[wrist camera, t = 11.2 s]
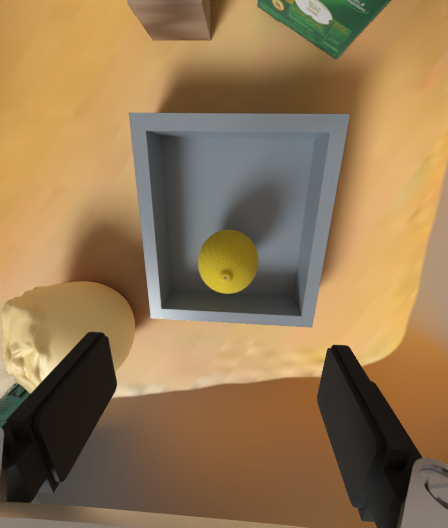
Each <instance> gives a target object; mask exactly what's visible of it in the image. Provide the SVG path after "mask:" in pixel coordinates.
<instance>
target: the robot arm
mask: <svg viewBox="0 0 448 528" xmlns="http://www.w3.org/2000/svg"><path fill="white" fill-rule="evenodd" d="M116 386H117V381H116V375H115V370H114V365H113V359H112V354H111V349H110V343H109V338H108V337H107V336H105V334H104V333H103V332H88V333H87V334H86V335H85V336H84V337H83V338H82V339H81V340H80V341H79V342H78V343H77V344H76V346H75V347H74V348H73V349H72V350H71V351H70V352H69V353H68V354H67V355H66V356H65V357H64V358H63V359H62V361H61V362H60V363H59V364H58V365H57V366H56V367H55V368H54V369H53V370H52V371H51V372H50V373H49V374H48V376H47V377H46V378H45V379H44V380H43V381H42V382H41V383H40V384H39V385H38V386H37V387H36V388H35V389H34V391H33V392H32V393H31V394H30V395H29V396H28V397H27V398H26V399H25V400H24V401H23V402H22V403H21V404H20V406H19V407H18V408H17V409H16V410H15V411H14V412H13V413H12V414H11V415H10V416H9V417H8V418H7V419H6V420H7V421H6V423H5V424H4V425H3V426H2V427H0V528H307V527H296V526H286V525H276V524H266V523H256V522H245V521H235V520H224V519H214V518H202V517H191V516H181V515H170V514H159V513H147V512H137V511H125V510H113V509H101V508H89V507H78V506H66V505H51V504H35V503H32V500H33V499H34V497H35V496H36V494H37V493H38V492H44V493H54V491H55V490H56V488H57V486H58V484H59V483H60V482H63V481H64V480H65V479H66V477H67V476H68V474H69V472H70V471H71V469H72V467H73V465H74V463H75V462H76V460H77V458H78V456H79V455H80V453H81V451H82V449H83V447H84V446H85V444H86V442H87V440H88V439H89V437H90V435H91V433H92V431H93V430H94V428H95V426H96V424H97V423H98V421H99V419H100V417H101V415H102V413H103V412H104V410H105V408H106V406H107V405H108V403H109V401H110V399H111V398H112V396H113V394H114V392H115V390H116ZM317 399H318V406H319V409H320V411H321V415H322V418H323V421H324V424H325V427H326V430H327V433H328V436H329V439H330V442H331V445H332V448H333V451H334V454H335V457H336V460H337V463H338V466H339V469H340V472H341V475H342V478H343V481H344V484H345V487H346V490H347V493H348V496H349V499H350V501H351V504H352V506H353V507H356V508H358V511H359V514H360V517H361V520H362V521H370V522H375V524H376V526H377V528H448V465H445V464H444V463H442V462H439V461H438V460H434V459H430V458H422V456H421V455H420V453H419V451H418V450H417V448H416V447H415V445H414V444H413V442H412V440H411V439H410V437H409V436H408V434H407V432H406V431H405V429H404V428H403V426H402V425H401V423H400V421H399V420H398V418H397V417H396V415H395V414H394V412H393V410H392V409H391V407H390V406H389V404H388V402H387V401H386V399H385V398H384V396H383V395H382V393H381V392H380V390H379V388H378V387H377V385H376V384H375V383H374V382H372V381H370V380H369V378H368V376H367V375H366V373H365V372H364V370H363V368H362V367H361V365H360V363H359V362H358V360H357V359H356V357H355V355H354V354H353V352H352V351H351V349H350V347H349V346H346V345H332V347H331V348H328V349H327V353H326V357H325V362H324V367H323V371H322V376H321V381H320V386H319V390H318V395H317Z"/></svg>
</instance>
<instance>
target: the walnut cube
mask: <svg viewBox="0 0 448 528" xmlns="http://www.w3.org/2000/svg"><path fill="white" fill-rule="evenodd" d="M128 5H129V7H130V8H131V10H132V11H133V13H134V14H135V15H136V17H137V18H138V20H139V21H140V23H141V24H142V25H143V27H144V28H145V30H146V31H147V33H148V34H149V35H150V37H151V38H152V40H211V0H128Z"/></svg>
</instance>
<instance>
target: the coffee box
mask: <svg viewBox="0 0 448 528" xmlns="http://www.w3.org/2000/svg"><path fill="white" fill-rule="evenodd" d="M390 1H391V0H258V7H259V8H261V9H262V10H264V11H265V12H267V13H268V14H270V15H271V16H272V17H273V18H274V19H276V20H277V21H279V22H282V23H284V24H285V25H286V26H288V27H290V28H291V29H292V30H294V31H295V32H297V33H298V34H300V35H301V36H303V37H304V38H306V39H307V40H308V41H310V42H311V43H313V44H314V45H315V46H317V47H319V48H320V49H321V50H323V51H325V52H326V53H328V54H329V55H331V56H332V57H334V58H335V59H337V58H338V57H339V56H340V55H341V54H342V53H343V52H344V51H345V50H346V49H347V48H348V46H349V45H350V44H351V43H352V42H353V41H354V39H355V38H356V37H357V36H358V35H359V34H360V33H361V32H362V31H363V30H364V29H365V28H366V27H367V26H368V25H369V23H370V22H371V21H372V20H373V19H374V18H375V17H376V16H377V15H378V14H379V13H380V12H381V11H382V10H383V9H384V8H385V7H386V6H387V4H388V3H389V2H390Z"/></svg>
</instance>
